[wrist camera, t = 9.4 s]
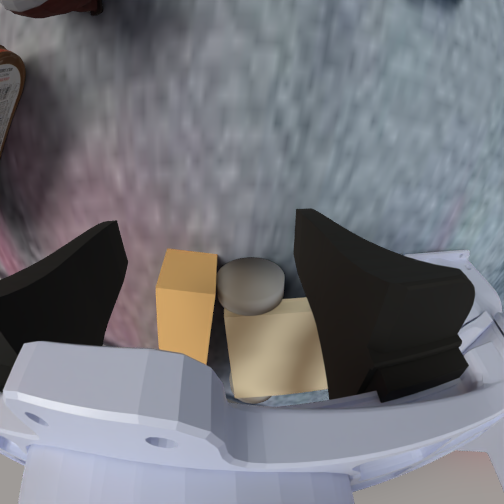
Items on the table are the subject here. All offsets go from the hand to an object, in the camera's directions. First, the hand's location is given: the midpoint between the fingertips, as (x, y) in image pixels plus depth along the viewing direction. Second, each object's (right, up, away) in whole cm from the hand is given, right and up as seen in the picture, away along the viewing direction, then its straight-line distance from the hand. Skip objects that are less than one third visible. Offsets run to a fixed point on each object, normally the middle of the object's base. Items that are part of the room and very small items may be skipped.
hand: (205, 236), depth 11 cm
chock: (-4, -7, +16) cm, 18 cm away
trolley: (+7, -7, +16) cm, 19 cm away
